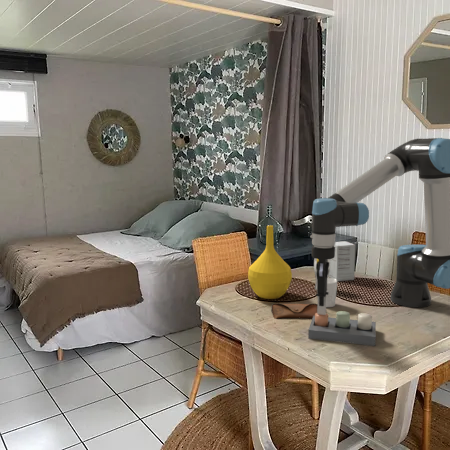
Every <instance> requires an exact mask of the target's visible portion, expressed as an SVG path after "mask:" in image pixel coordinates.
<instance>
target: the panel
mask: <svg viewBox="0 0 450 450" xmlns="http://www.w3.org/2000/svg"><path fill="white" fill-rule="evenodd" d="M376 323H377V322H376V321H372V328H371V329H369V330H363V329H360V328H358V319H351V318H350V326H349V327H338V326H337V325H336V317H331V316H330V317H329V316H328V327H322V326H315V316H313V318H312V319H311V321H310V324H309V327H308V333H307V335H308V336H307V338H308V339H309V340H310V339H312V340H320V341H327V342H328V341H329V342H335V343H336V342H337V343H345V344H346V343H348V344H354V345H355V344H356V345H363V346H364V345H365V346H372V347H376V338H377V337H376V335H377V334H376V332H377V329H376V327H377V325H376Z"/></svg>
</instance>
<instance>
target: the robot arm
mask: <svg viewBox="0 0 450 450" xmlns="http://www.w3.org/2000/svg"><path fill="white" fill-rule="evenodd" d="M383 157H384V159H383V160H381V161H379V162H378V163H377V164H376V165H374V166H372V167H371V168H369V169H368V170H367V171H365V172H364V173H362V174H361V175H359V176H358V177H356V178H355V179H353V180H352V181H351V182H349V183H348V184H347V185H345V186H344V187H342V188H340V189H339V190H337V191H336V192H334V193H333V194H332V195H330V196H329V197H320V198H316V199H314V200H313V203H312V211H311V214H312V217H311V218H312V220H311V221H312V223H311V225H312V226H311V228H312V229H311V230H312V231H311V235H310V239H311V244H312V246H311V257H312V258H313V259H315V258H316V259H318V260H319V262H318V261H317V263H316V269H317V290H316V293H315V297H317V296H318V298H317V304H318V305H317V314H319V315H326V313H327V307H326V295H328V293H329V292H326V291H327V276H328V268H329V262H327V259H333V258H334V257H335V247H334V245H335V242H336V237H337V234H336V233H337V231H336V229H337V228H340V227H353V226H355V227H357V226H361V225H365V224H367V223H368V221H369V219H370V218H369V217H370V210H369V208H368V206H367V204H365V203H363V202H361V201H362V200H364V199H365V198H366V197H368V196H369V195H371V194H372V193H374V192H375V191H376V190H378V189H379V188H381V187H382V186H384V185H385V184H387V183H388V182H389V181H391V180H392V179H394V178H396V177H402V176H403V175H405V174H406V173H410V172H413V171H414V172H415V171H417V172H418V179H419V180H421V181H422V183H423V197H424V199H423V201H424V222H425V223H424V225H425V226H424V229H425V244H404V245H400V246H399V247H398V249H397V255H396V275H395V276H396V277H395V278H396V279H395V283H394V286H393V288H392V291H391V294H390V301H391V302H392V303H394V304H396V305H399V306H403V307H409V308H424V307H429V306H431V304H432V296H431V293H430V289H429V286H428V284H431V285H433V286H435V287H437V288H442V289H444V290H445V289H450V138H443V137H435V138H434V137H433V138H432V137H431V138H428V137H427V138H414V139H411V140H408V141H405V142H404V143H403V144H401V145H398V146H397V147H396V148H394V149H392V150H391V151H389V152H388V153H386V154H385V155H384V156H383Z"/></svg>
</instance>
